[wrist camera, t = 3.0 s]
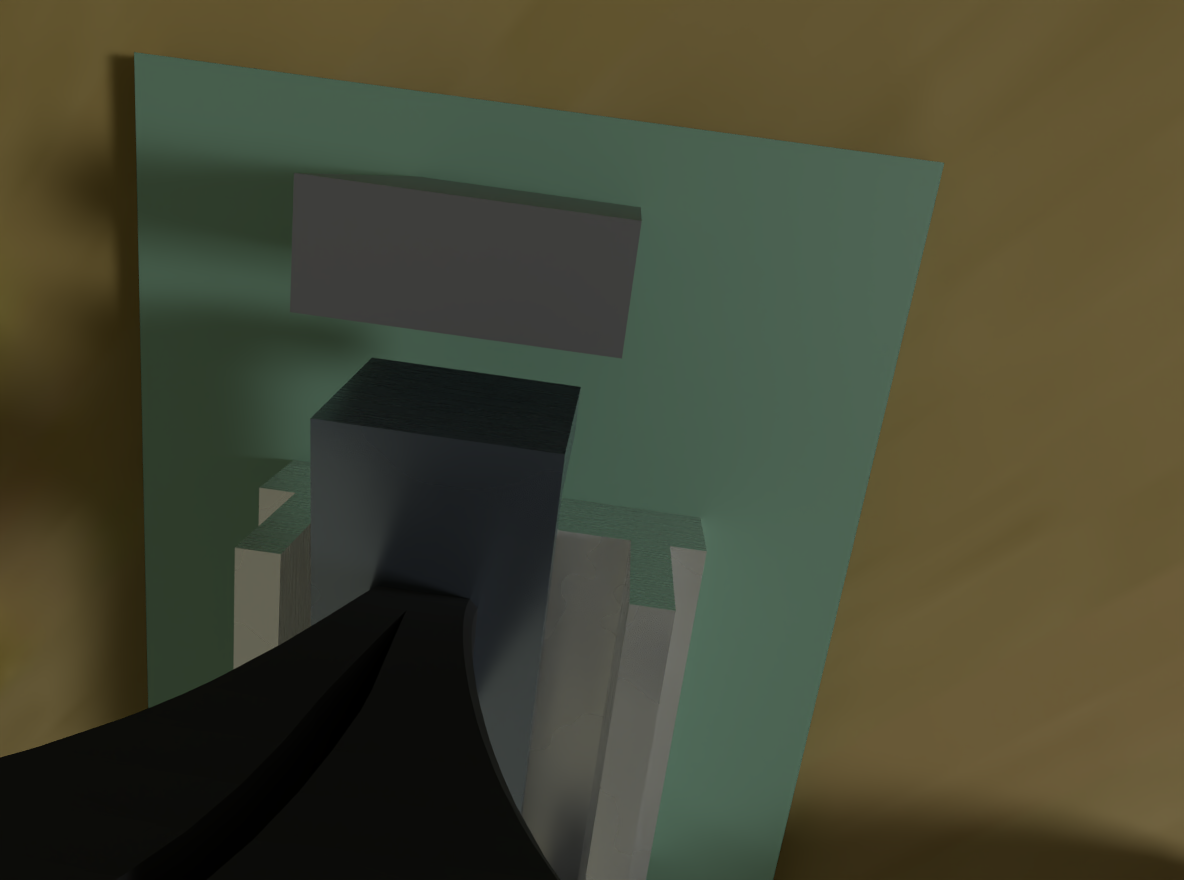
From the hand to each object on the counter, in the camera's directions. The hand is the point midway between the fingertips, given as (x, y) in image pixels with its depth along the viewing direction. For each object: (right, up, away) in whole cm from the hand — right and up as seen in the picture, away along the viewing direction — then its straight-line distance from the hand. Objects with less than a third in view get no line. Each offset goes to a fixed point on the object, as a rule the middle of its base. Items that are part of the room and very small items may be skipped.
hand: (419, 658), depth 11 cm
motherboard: (0, -1, +7) cm, 7 cm away
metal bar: (0, -2, +3) cm, 4 cm away
